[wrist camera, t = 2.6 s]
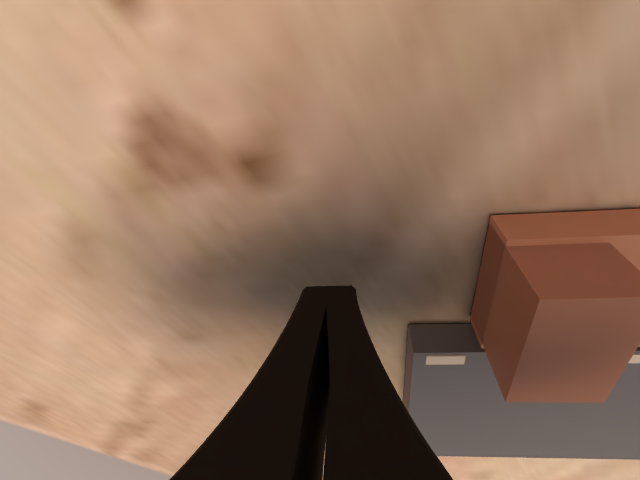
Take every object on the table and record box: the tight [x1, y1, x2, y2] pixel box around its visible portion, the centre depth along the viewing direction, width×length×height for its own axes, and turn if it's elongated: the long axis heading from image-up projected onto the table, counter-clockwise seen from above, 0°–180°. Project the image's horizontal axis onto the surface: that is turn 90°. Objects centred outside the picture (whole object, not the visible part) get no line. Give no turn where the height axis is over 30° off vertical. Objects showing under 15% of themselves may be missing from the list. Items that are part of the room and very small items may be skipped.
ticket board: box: [403, 324, 640, 459], centre depth 13 cm, size 14×6×1 cm, turn 95°
